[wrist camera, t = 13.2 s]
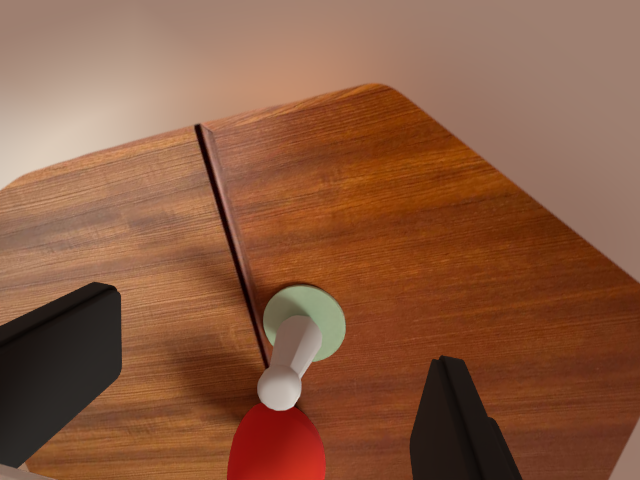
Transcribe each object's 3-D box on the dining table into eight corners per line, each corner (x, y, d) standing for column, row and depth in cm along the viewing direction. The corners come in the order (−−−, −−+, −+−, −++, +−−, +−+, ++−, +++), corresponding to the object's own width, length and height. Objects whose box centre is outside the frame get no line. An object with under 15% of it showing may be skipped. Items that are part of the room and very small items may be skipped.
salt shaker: (307, 300, 44) (282, 360, 32) (333, 335, 45) (318, 406, 32) (272, 322, 46) (235, 386, 33) (298, 355, 46) (270, 430, 34)
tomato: (234, 413, 51) (184, 507, 38) (280, 366, 48) (244, 452, 34) (298, 465, 52) (272, 577, 38) (348, 423, 49) (339, 528, 35)
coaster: (248, 311, 47) (246, 313, 46) (312, 268, 44) (311, 270, 43) (296, 372, 48) (296, 375, 47) (362, 335, 45) (362, 337, 44)
